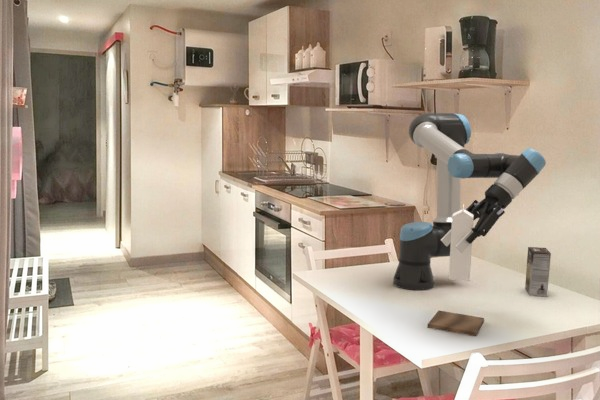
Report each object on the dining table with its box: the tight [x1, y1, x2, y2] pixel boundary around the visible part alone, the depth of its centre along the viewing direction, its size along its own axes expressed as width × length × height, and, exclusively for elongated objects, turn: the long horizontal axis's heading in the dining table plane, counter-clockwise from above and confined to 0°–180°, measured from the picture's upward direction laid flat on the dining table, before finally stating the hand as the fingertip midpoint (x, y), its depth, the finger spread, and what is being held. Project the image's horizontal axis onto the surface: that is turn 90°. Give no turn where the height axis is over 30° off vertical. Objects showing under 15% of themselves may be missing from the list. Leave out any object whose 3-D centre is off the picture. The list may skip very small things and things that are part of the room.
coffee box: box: [524, 246, 552, 298], centre depth 202 cm, size 9×6×16 cm
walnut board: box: [427, 310, 485, 337], centre depth 168 cm, size 14×14×1 cm
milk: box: [448, 203, 474, 282], centre depth 165 cm, size 6×6×22 cm
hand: (450, 246), depth 164 cm, fingers closed on milk, 8 cm apart
